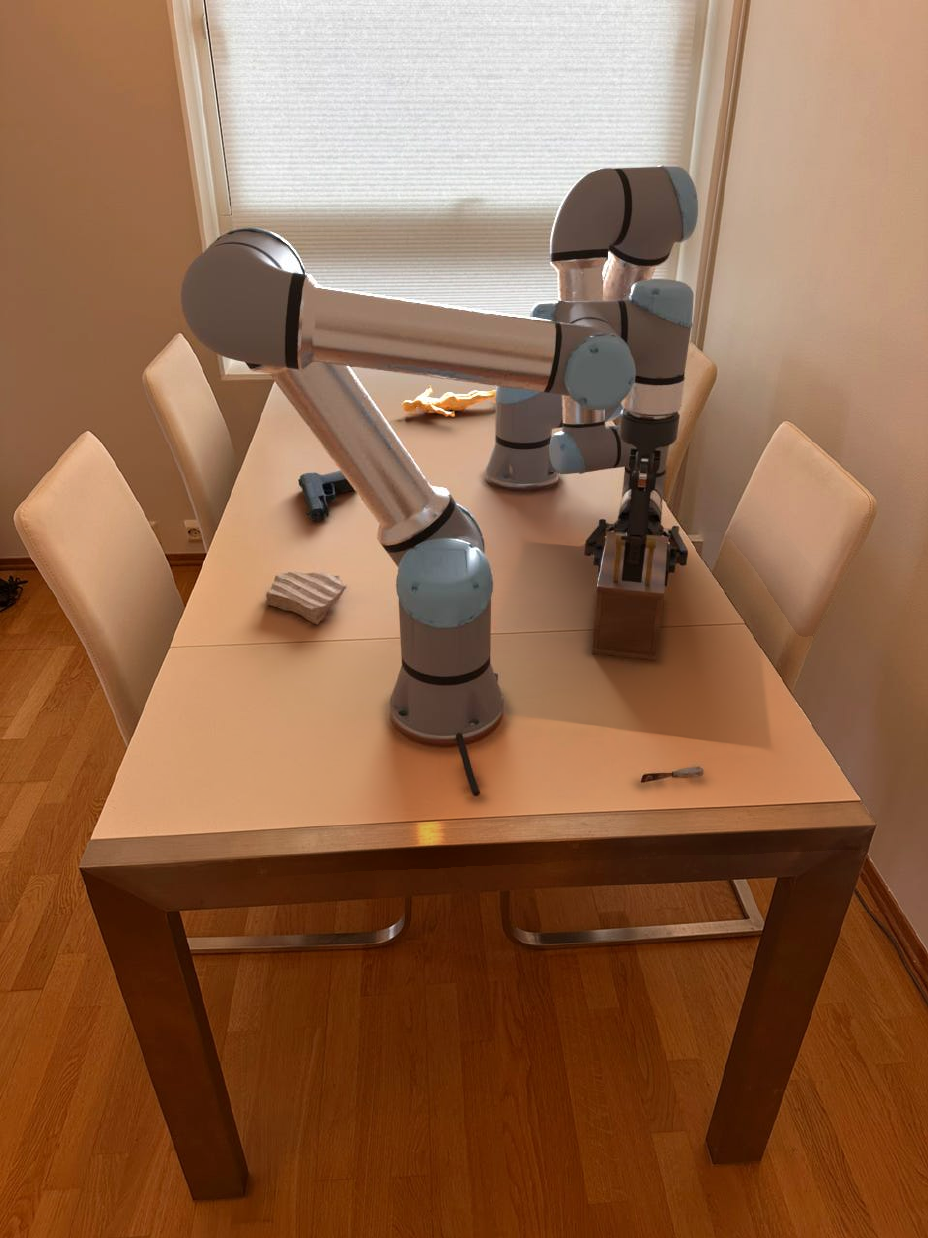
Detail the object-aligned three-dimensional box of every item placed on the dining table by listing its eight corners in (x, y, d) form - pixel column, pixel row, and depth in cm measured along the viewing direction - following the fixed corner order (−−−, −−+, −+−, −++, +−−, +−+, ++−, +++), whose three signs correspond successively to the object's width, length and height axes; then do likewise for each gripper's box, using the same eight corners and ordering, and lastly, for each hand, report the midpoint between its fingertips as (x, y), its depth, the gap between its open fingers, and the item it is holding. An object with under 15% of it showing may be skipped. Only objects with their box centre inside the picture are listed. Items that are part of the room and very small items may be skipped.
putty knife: (703, 777, 109) (705, 767, 109) (642, 788, 108) (644, 777, 107) (700, 772, 110) (702, 762, 109) (639, 782, 109) (640, 771, 108)
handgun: (369, 516, 174) (308, 523, 171) (354, 480, 188) (297, 486, 185) (368, 501, 172) (306, 508, 169) (353, 466, 186) (295, 472, 183)
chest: (655, 660, 131) (663, 596, 125) (591, 653, 133) (596, 590, 127) (659, 602, 145) (666, 542, 140) (601, 596, 147) (606, 536, 141)
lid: (663, 599, 125) (670, 546, 120) (596, 592, 126) (600, 540, 122) (666, 541, 140) (673, 493, 135) (606, 536, 141) (611, 488, 137)
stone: (356, 590, 149) (354, 577, 147) (319, 626, 139) (317, 612, 138) (289, 576, 153) (287, 563, 152) (249, 610, 144) (247, 596, 142)
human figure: (395, 413, 223) (394, 398, 221) (438, 390, 237) (438, 375, 235) (462, 429, 215) (462, 413, 213) (502, 404, 229) (503, 388, 227)
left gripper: (625, 385, 122) (611, 536, 134) (615, 433, 106) (600, 599, 119) (681, 388, 121) (662, 541, 133) (679, 437, 105) (657, 605, 117)
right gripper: (700, 539, 159) (701, 603, 140) (577, 528, 163) (561, 588, 144) (706, 501, 155) (707, 561, 136) (579, 490, 159) (564, 547, 140)
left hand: (632, 568), depth 126 cm, fingers open, 6 cm apart
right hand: (632, 575), depth 140 cm, fingers closed on chest, 9 cm apart
